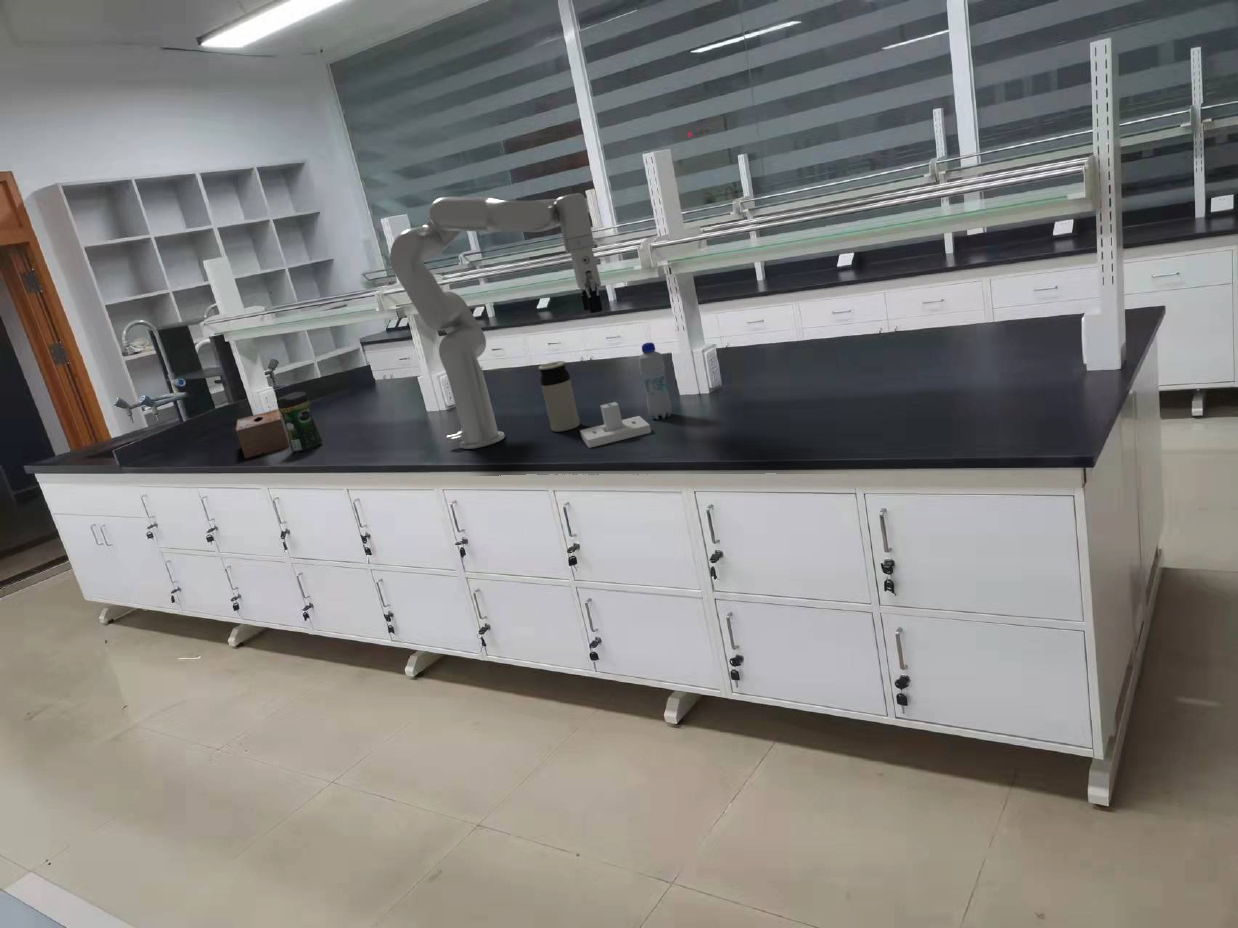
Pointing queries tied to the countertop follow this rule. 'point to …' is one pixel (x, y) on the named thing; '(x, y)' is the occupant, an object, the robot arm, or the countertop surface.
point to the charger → (611, 416)
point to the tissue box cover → (262, 433)
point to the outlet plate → (615, 432)
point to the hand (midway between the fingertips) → (593, 310)
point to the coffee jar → (299, 421)
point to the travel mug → (559, 396)
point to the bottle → (654, 382)
